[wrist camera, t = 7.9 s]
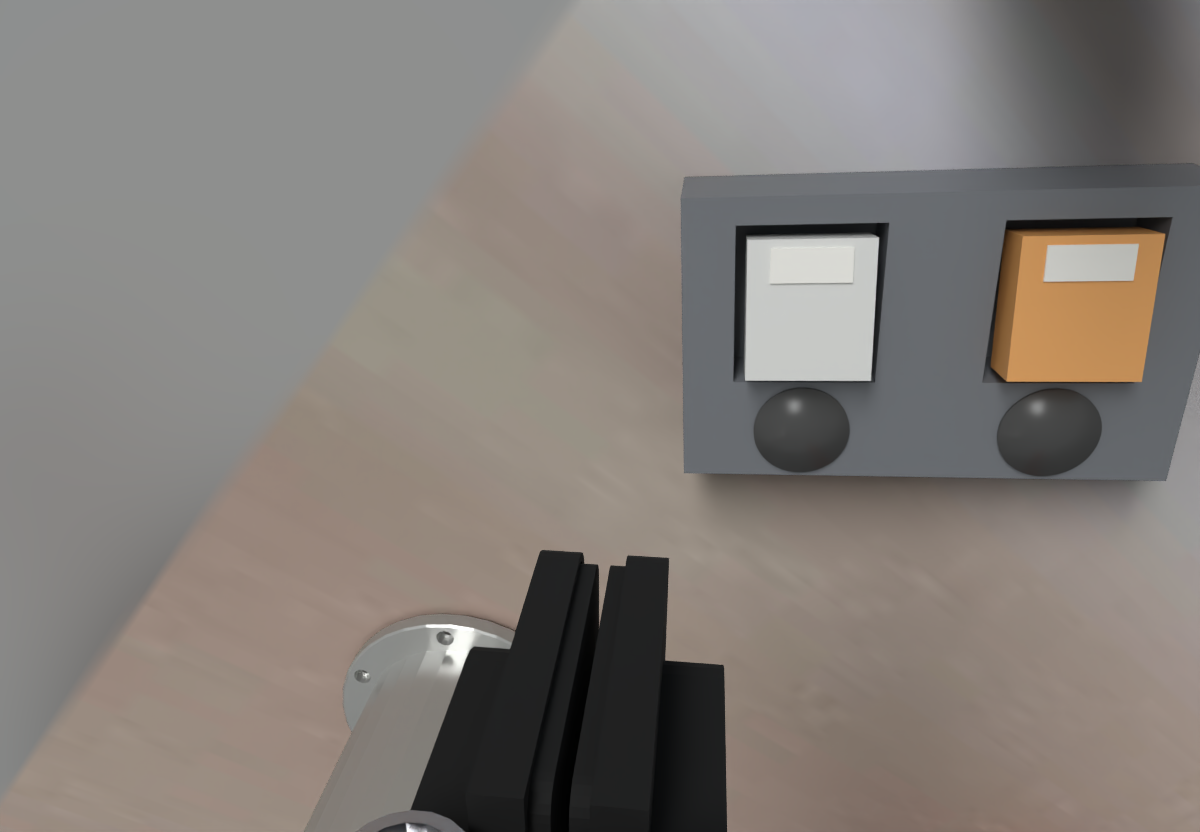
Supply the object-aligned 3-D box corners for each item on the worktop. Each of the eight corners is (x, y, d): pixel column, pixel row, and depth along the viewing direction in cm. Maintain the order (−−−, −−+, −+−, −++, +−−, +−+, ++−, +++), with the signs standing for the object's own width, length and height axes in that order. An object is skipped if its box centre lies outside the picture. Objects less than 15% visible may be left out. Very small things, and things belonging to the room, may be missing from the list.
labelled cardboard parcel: (1117, 366, 33) (1143, 382, 31) (990, 366, 33) (1007, 382, 31) (1138, 226, 31) (1166, 234, 29) (1004, 229, 32) (1023, 236, 30)
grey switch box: (1128, 437, 37) (1167, 482, 34) (686, 432, 39) (683, 475, 36) (1193, 163, 32) (1246, 185, 29) (684, 177, 34) (680, 199, 31)
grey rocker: (862, 367, 34) (871, 381, 32) (743, 367, 34) (745, 381, 32) (869, 232, 32) (879, 237, 30) (745, 234, 33) (747, 240, 31)
